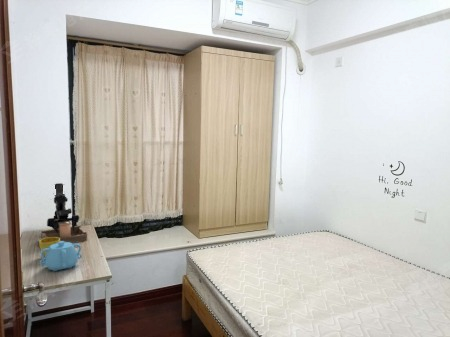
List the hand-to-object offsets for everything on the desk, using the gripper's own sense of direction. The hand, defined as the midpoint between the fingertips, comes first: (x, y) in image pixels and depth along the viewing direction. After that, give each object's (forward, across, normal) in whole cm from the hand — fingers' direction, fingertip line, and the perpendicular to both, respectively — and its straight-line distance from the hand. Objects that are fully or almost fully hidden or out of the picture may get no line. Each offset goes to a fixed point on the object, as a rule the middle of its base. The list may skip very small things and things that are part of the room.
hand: (65, 231), depth 202 cm
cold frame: (+2, 0, +8) cm, 8 cm away
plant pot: (+20, -13, -10) cm, 26 cm away
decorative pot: (+34, -11, -24) cm, 43 cm away
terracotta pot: (+4, 0, +6) cm, 7 cm away
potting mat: (+12, 0, -2) cm, 12 cm away
